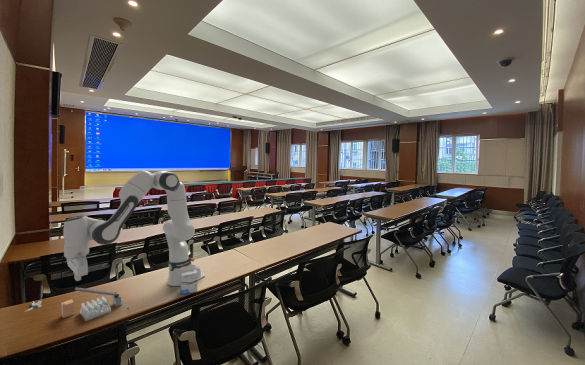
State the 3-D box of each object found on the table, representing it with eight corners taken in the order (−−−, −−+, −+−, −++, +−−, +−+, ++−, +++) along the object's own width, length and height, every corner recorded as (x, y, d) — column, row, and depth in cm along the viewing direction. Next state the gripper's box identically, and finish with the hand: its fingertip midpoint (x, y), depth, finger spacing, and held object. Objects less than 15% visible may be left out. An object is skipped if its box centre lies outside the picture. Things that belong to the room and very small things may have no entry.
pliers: (17, 317, 118) (23, 303, 130) (18, 320, 118) (23, 306, 130) (47, 309, 125) (49, 297, 136) (47, 312, 125) (49, 300, 136)
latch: (72, 311, 123) (72, 297, 123) (75, 316, 119) (75, 301, 119) (61, 315, 120) (61, 300, 120) (64, 320, 116) (63, 305, 116)
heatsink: (116, 300, 134) (116, 291, 134) (123, 307, 128) (122, 298, 128) (80, 313, 122) (79, 303, 122) (85, 321, 116) (85, 311, 116)
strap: (116, 294, 131) (117, 292, 132) (118, 297, 129) (119, 294, 129) (74, 289, 118) (75, 286, 118) (76, 291, 115) (77, 288, 116)
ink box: (182, 295, 142) (181, 270, 141) (180, 291, 146) (180, 267, 145) (197, 291, 147) (197, 267, 146) (195, 287, 151) (195, 264, 150)
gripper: (91, 254, 112) (92, 284, 113) (80, 244, 125) (80, 271, 126) (73, 258, 107) (74, 289, 108) (63, 247, 120) (64, 275, 121)
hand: (77, 279), depth 117 cm, fingers closed
